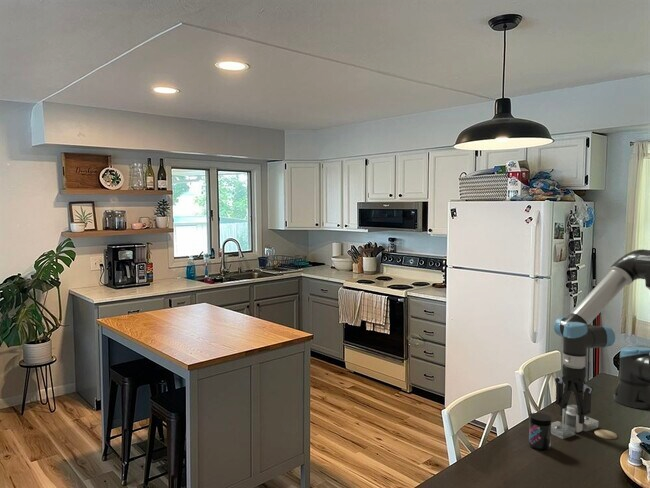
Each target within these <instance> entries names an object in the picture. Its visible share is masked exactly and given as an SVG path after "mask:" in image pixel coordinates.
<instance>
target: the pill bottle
mask: <svg viewBox="0 0 650 488" xmlns="http://www.w3.org/2000/svg"><path fill="white" fill-rule="evenodd" d="M566 408H567V410H566V420H565V424H566V425H569V426H571V427H574V428H575V433H577V432H576V414H577V413H578V408H577V404H568V405H567V407H566Z"/></svg>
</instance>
